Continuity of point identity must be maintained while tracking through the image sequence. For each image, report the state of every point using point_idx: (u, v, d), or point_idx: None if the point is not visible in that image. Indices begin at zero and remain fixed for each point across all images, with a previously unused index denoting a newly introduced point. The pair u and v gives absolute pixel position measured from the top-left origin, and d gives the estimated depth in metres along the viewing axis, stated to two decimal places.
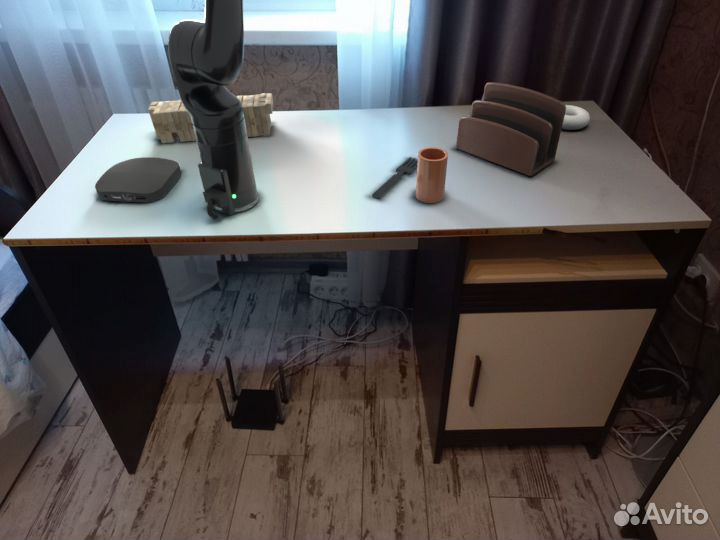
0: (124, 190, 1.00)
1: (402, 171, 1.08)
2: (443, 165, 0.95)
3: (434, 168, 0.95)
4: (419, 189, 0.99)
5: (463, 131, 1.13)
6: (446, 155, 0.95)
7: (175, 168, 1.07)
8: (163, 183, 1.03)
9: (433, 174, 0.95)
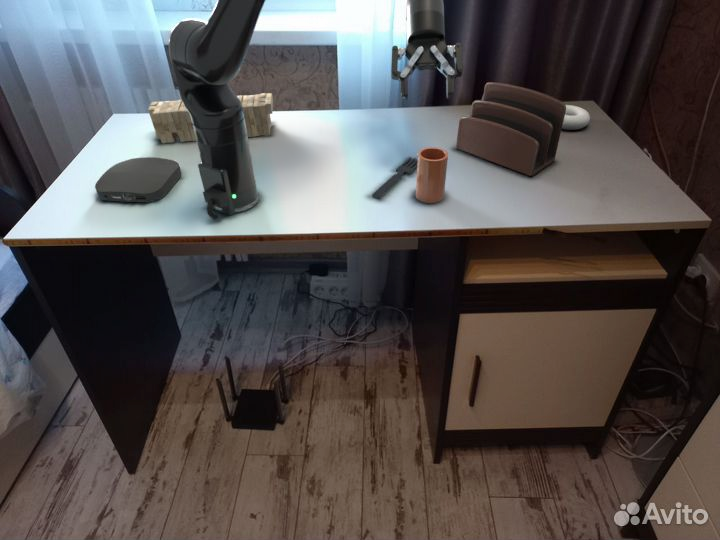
0: (124, 190, 1.00)
1: (402, 171, 1.08)
2: (443, 165, 0.95)
3: (434, 168, 0.95)
4: (419, 189, 0.99)
5: (463, 131, 1.13)
6: (446, 155, 0.95)
7: (175, 168, 1.07)
8: (163, 183, 1.03)
9: (433, 174, 0.95)
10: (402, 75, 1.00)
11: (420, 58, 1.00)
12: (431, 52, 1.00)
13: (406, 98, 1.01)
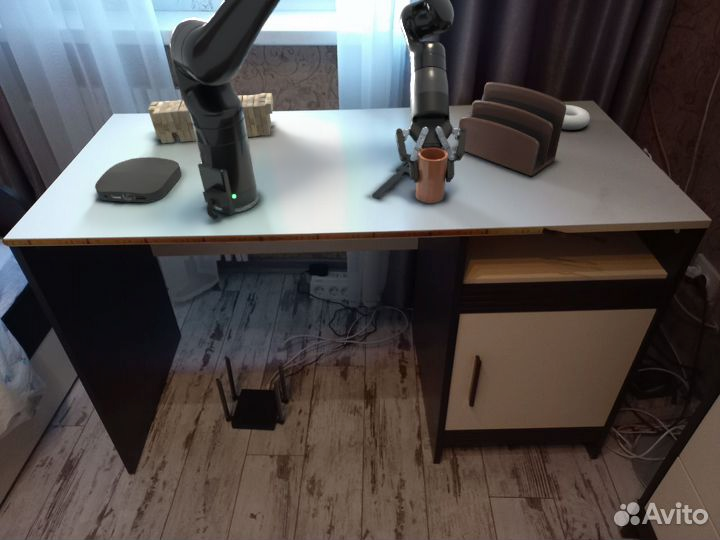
0: (124, 190, 1.00)
1: (402, 171, 1.08)
2: (443, 165, 0.95)
3: (434, 168, 0.95)
4: (419, 189, 0.99)
5: None
6: (446, 155, 0.95)
7: (175, 168, 1.07)
8: (163, 183, 1.03)
9: (433, 174, 0.95)
10: (412, 159, 0.97)
11: (425, 138, 0.97)
12: (435, 132, 0.97)
13: (416, 182, 0.97)
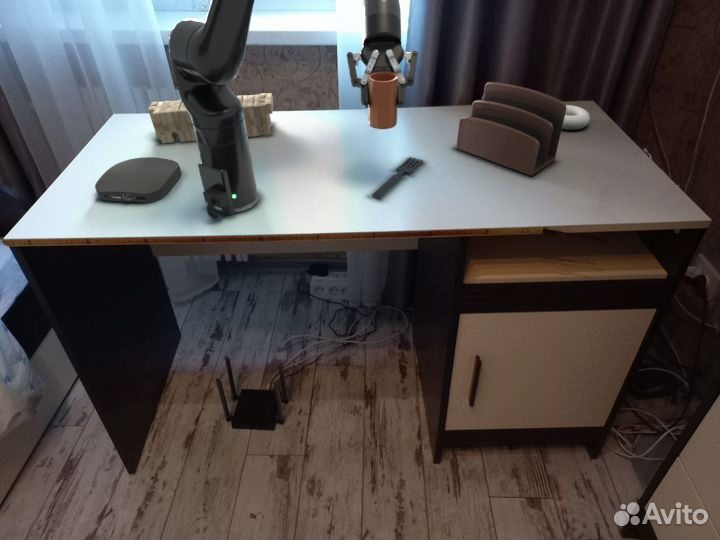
0: (124, 190, 1.00)
1: (402, 171, 1.08)
2: (393, 87, 0.94)
3: (383, 90, 0.93)
4: (370, 115, 0.98)
5: (464, 131, 1.13)
6: (396, 77, 0.94)
7: (175, 168, 1.07)
8: (163, 183, 1.03)
9: (383, 97, 0.94)
10: (363, 82, 0.95)
11: (375, 62, 0.96)
12: (386, 55, 0.96)
13: (367, 106, 0.96)
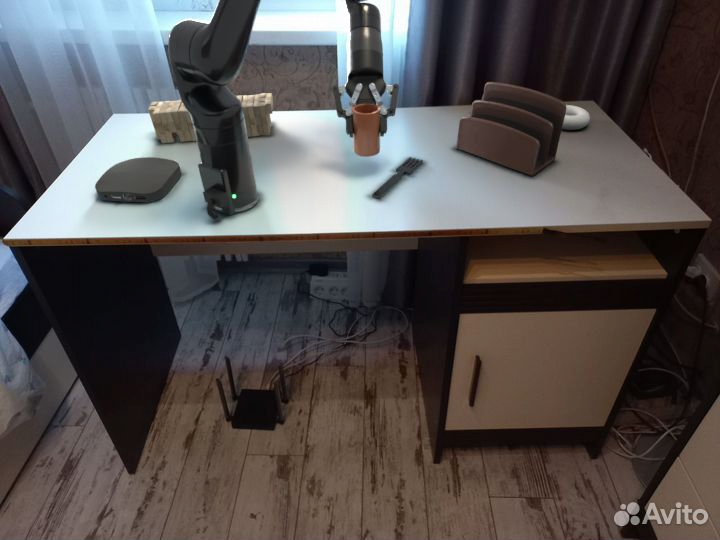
0: (124, 190, 1.00)
1: (402, 171, 1.08)
2: (375, 119, 1.01)
3: (366, 121, 1.00)
4: (355, 143, 1.05)
5: (464, 131, 1.13)
6: (378, 109, 1.01)
7: (175, 168, 1.07)
8: (163, 183, 1.03)
9: (366, 127, 1.01)
10: (347, 114, 1.03)
11: (359, 94, 1.03)
12: (369, 89, 1.03)
13: (351, 136, 1.03)
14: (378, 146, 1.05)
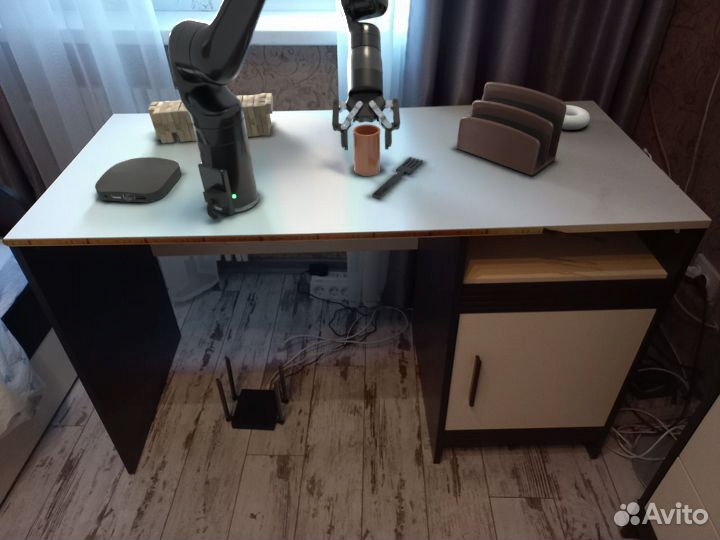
0: (124, 190, 1.00)
1: (402, 171, 1.08)
2: (375, 140, 1.04)
3: (367, 143, 1.03)
4: (356, 163, 1.08)
5: (464, 131, 1.13)
6: (378, 131, 1.04)
7: (175, 168, 1.07)
8: (163, 183, 1.03)
9: (366, 148, 1.04)
10: (342, 127, 1.05)
11: (359, 112, 1.06)
12: (370, 106, 1.05)
13: (346, 149, 1.06)
14: (378, 166, 1.08)
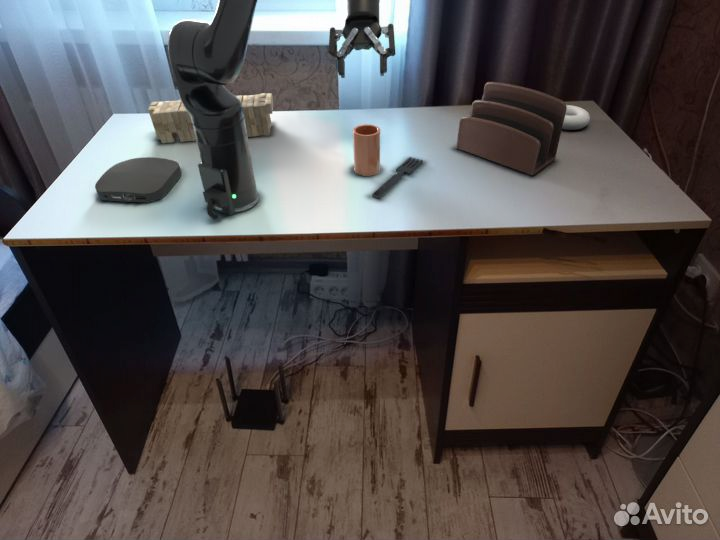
0: (124, 190, 1.00)
1: (402, 171, 1.08)
2: (375, 140, 1.04)
3: (367, 143, 1.03)
4: (356, 163, 1.08)
5: (464, 131, 1.13)
6: (378, 131, 1.04)
7: (175, 168, 1.07)
8: (163, 183, 1.03)
9: (366, 148, 1.04)
10: (338, 55, 1.08)
11: (355, 38, 1.08)
12: (365, 33, 1.07)
13: (342, 76, 1.09)
14: (378, 166, 1.08)
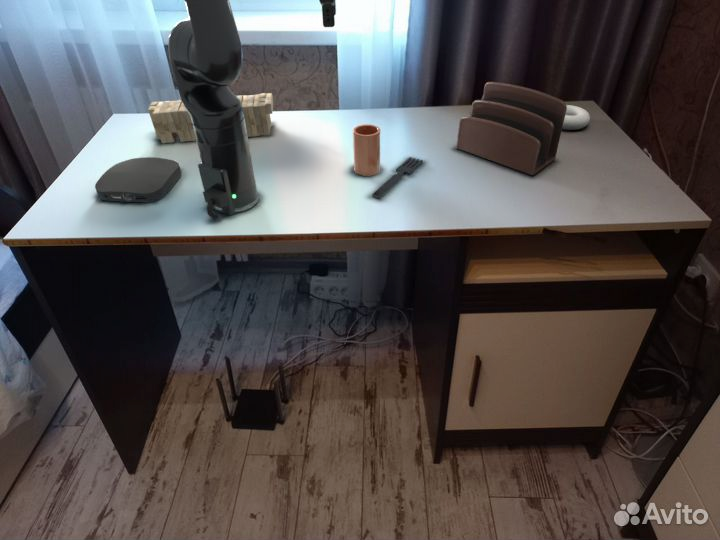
0: (124, 190, 1.00)
1: (402, 171, 1.08)
2: (375, 140, 1.04)
3: (367, 143, 1.03)
4: (356, 163, 1.08)
5: (464, 131, 1.13)
6: (378, 131, 1.04)
7: (175, 168, 1.07)
8: (163, 183, 1.03)
9: (366, 148, 1.04)
10: None
11: None
12: None
13: None
14: (378, 166, 1.08)
